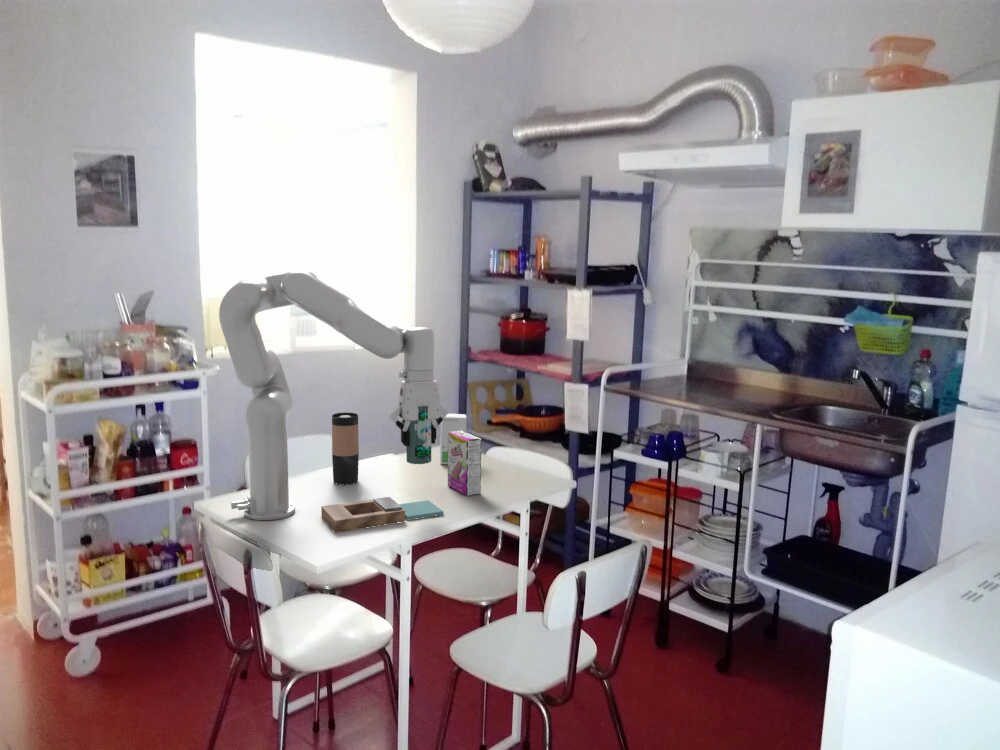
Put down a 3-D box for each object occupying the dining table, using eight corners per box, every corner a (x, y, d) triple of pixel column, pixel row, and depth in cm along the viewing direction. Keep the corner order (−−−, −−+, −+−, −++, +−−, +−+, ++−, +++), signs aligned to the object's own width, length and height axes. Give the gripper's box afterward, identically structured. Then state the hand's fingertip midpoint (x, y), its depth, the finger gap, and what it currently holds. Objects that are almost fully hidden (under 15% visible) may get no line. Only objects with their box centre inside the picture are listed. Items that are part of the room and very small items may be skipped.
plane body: (335, 532, 190) (335, 518, 189) (321, 517, 200) (321, 503, 200) (405, 522, 198) (405, 508, 198) (388, 508, 209) (388, 495, 208)
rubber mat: (407, 520, 200) (407, 516, 199) (393, 508, 208) (393, 505, 208) (443, 514, 204) (443, 511, 204) (428, 503, 213) (428, 500, 213)
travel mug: (361, 478, 235) (360, 412, 232) (356, 485, 228) (355, 418, 225) (335, 477, 235) (335, 412, 232) (329, 484, 228) (328, 417, 225)
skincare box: (440, 464, 252) (440, 417, 250) (439, 459, 258) (440, 413, 256) (466, 464, 253) (466, 417, 250) (465, 459, 259) (466, 413, 257)
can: (423, 465, 200) (422, 407, 198) (402, 462, 203) (402, 405, 200) (435, 459, 206) (434, 403, 203) (415, 456, 208) (414, 401, 206)
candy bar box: (446, 486, 229) (447, 431, 226) (461, 484, 232) (461, 429, 229) (466, 497, 220) (467, 439, 217) (481, 494, 222) (482, 437, 220)
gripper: (392, 379, 193) (392, 450, 196) (455, 375, 201) (455, 443, 204) (381, 375, 200) (382, 444, 203) (443, 371, 208) (443, 437, 211)
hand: (418, 443), depth 203 cm, fingers closed on can, 6 cm apart
